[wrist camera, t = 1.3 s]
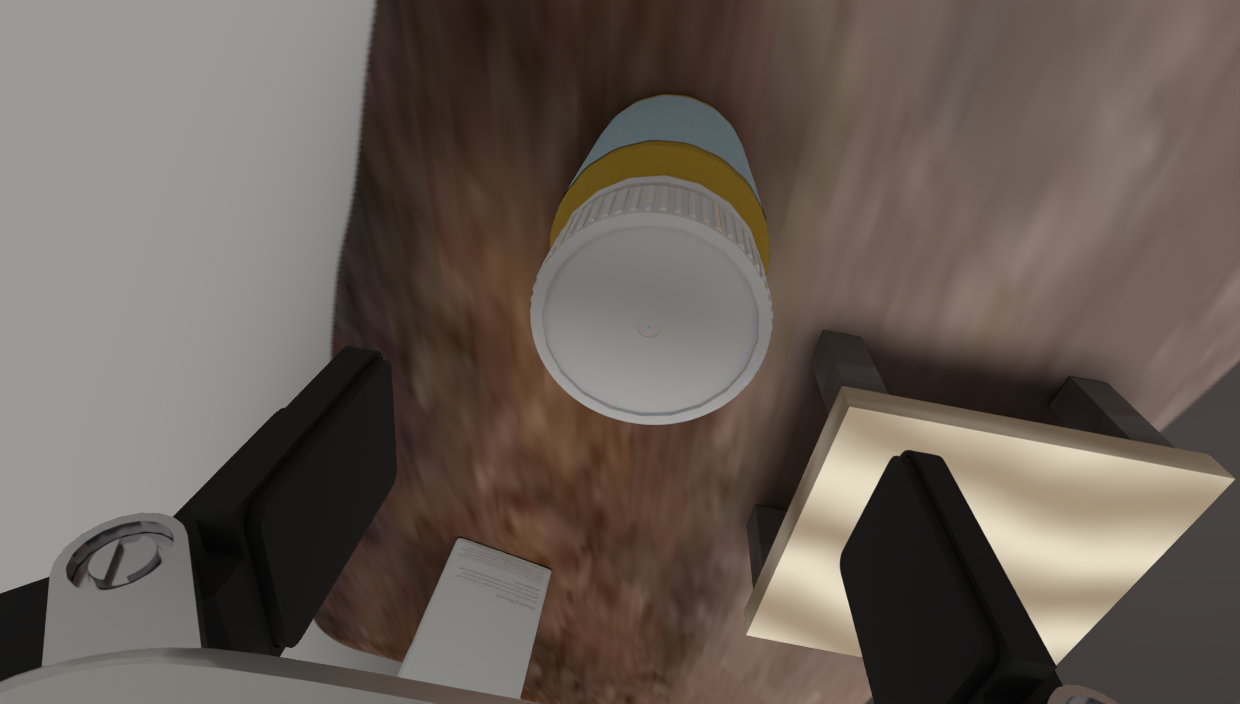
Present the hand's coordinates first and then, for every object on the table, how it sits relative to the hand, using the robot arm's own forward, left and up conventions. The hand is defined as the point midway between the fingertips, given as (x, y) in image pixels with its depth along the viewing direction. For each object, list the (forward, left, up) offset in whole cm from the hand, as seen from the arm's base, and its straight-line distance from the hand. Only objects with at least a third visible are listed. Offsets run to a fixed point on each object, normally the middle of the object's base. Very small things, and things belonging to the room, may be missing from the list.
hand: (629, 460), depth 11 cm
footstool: (+14, +17, -20) cm, 29 cm away
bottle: (0, 0, -20) cm, 20 cm away
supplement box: (+32, -7, -20) cm, 38 cm away
